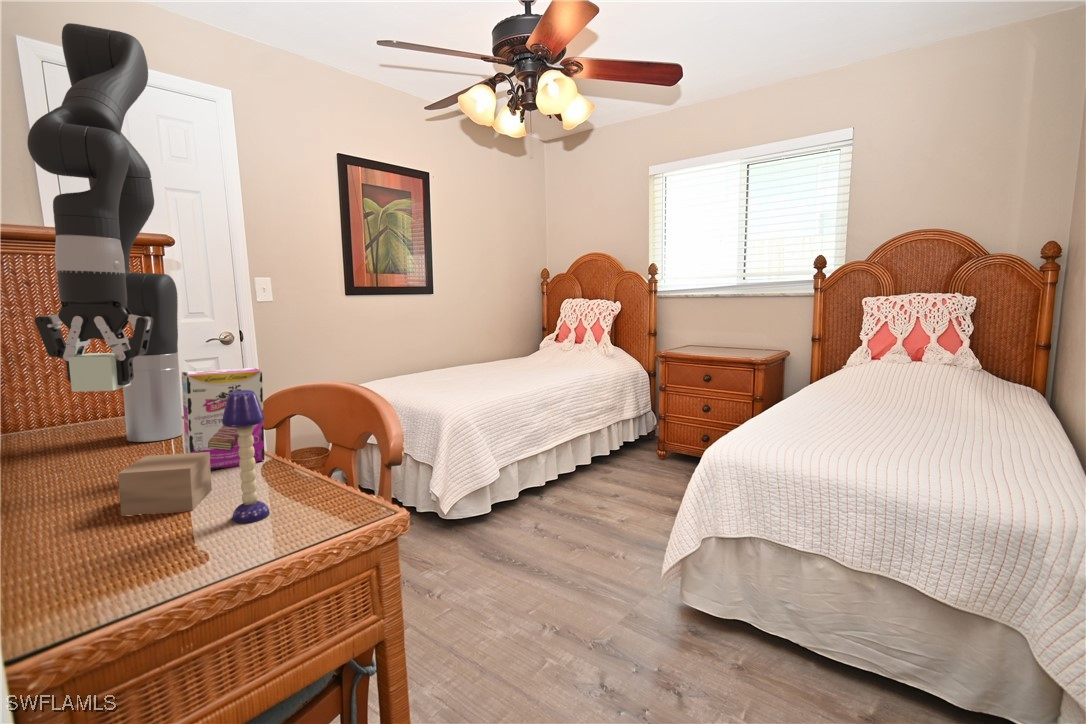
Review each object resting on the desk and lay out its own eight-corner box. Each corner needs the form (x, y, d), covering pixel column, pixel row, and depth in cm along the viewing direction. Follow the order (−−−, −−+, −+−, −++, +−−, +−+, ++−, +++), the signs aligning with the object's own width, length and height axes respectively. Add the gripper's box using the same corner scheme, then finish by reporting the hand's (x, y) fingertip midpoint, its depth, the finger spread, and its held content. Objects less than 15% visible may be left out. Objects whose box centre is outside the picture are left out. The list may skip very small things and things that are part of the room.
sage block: (92, 385, 78) (89, 353, 78) (130, 385, 80) (127, 353, 79) (71, 391, 74) (68, 357, 73) (112, 390, 75) (110, 356, 74)
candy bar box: (191, 475, 83) (185, 374, 81) (185, 468, 86) (179, 371, 84) (267, 461, 90) (263, 369, 89) (258, 455, 94) (254, 366, 92)
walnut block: (148, 496, 74) (145, 455, 73) (211, 491, 76) (209, 451, 76) (121, 518, 66) (117, 473, 66) (192, 511, 69) (190, 468, 68)
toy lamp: (262, 523, 65) (256, 394, 63) (221, 526, 64) (214, 394, 62) (273, 509, 70) (268, 388, 68) (235, 511, 69) (229, 388, 67)
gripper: (160, 272, 80) (168, 380, 82) (49, 269, 76) (60, 382, 78) (136, 270, 73) (145, 388, 75) (12, 266, 69) (25, 391, 71)
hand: (101, 384), depth 77 cm, fingers closed on sage block, 5 cm apart
